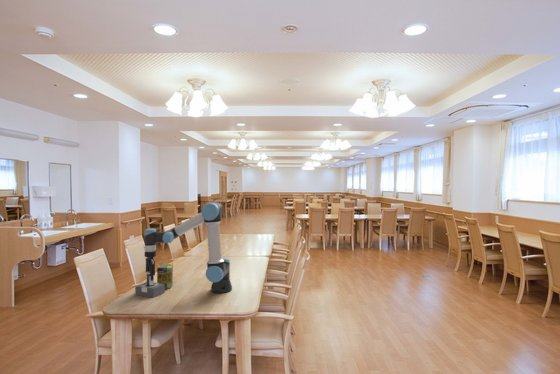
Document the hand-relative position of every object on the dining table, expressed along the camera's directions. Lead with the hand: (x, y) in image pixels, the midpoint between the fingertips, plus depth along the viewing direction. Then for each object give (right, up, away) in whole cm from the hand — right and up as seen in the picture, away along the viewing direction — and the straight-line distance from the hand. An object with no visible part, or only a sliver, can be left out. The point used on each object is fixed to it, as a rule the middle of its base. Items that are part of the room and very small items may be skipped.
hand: (150, 283), depth 230 cm
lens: (0, -3, 0) cm, 3 cm away
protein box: (+4, -7, +19) cm, 21 cm away
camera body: (0, -7, 0) cm, 7 cm away
